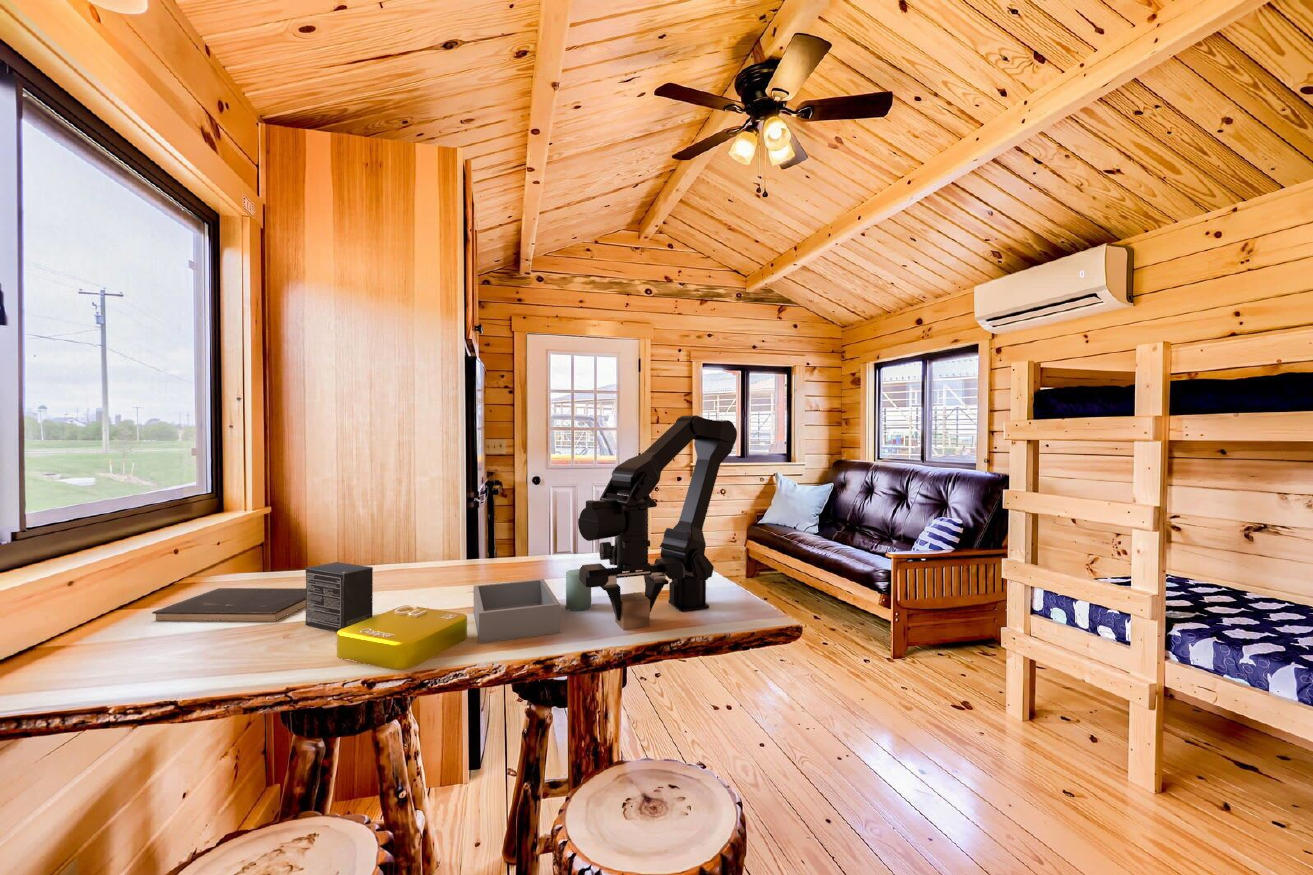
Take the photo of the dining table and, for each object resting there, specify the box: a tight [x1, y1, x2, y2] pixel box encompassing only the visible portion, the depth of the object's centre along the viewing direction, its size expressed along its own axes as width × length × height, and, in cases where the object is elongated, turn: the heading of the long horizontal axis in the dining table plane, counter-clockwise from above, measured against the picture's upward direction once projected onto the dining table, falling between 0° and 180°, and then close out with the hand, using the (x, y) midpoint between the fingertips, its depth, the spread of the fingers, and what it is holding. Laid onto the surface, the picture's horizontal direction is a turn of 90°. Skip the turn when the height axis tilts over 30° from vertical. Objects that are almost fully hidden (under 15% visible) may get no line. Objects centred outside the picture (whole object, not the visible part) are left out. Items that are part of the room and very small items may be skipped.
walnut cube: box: [614, 591, 651, 631], centre depth 102 cm, size 5×5×5 cm
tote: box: [473, 578, 561, 644], centre depth 103 cm, size 14×18×5 cm
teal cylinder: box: [565, 568, 592, 612], centre depth 112 cm, size 5×5×7 cm
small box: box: [305, 561, 374, 633], centre depth 102 cm, size 11×6×10 cm, turn 65°
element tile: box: [336, 604, 468, 671], centre depth 91 cm, size 15×15×5 cm
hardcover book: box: [151, 587, 306, 622], centre depth 111 cm, size 16×23×2 cm
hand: (632, 618), depth 102 cm, fingers open, 5 cm apart
